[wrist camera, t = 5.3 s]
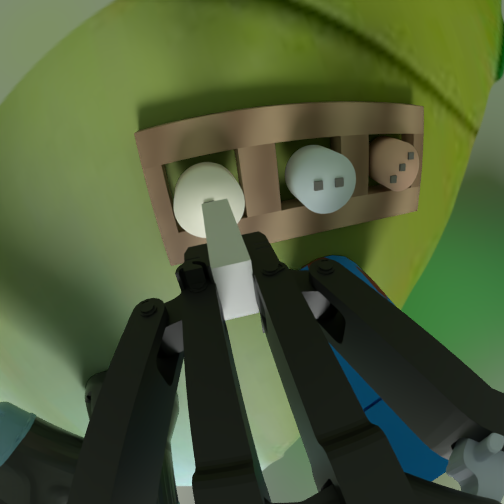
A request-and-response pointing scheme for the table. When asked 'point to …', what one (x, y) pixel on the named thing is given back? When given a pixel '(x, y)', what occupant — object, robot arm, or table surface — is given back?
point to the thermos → (379, 413)
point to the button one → (205, 195)
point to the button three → (393, 163)
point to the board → (265, 164)
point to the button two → (320, 178)
